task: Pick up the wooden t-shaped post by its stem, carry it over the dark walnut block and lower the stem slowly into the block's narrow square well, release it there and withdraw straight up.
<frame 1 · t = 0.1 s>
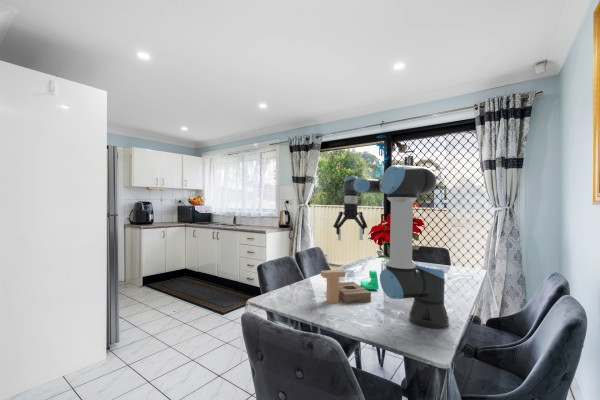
hand: (350, 240, 164), 28 cm above the table, fingers open, 13 cm apart
camera mount: (369, 288, 167), on the table
wooden t-shaped post: (332, 301, 142), on the table
well block: (349, 296, 151), on the table
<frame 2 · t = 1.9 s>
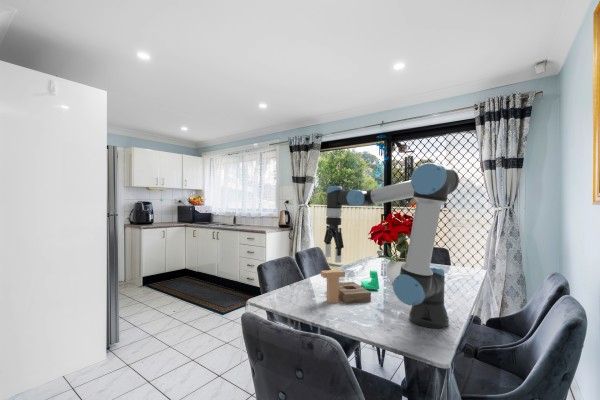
hand: (332, 259, 142), 21 cm above the table, fingers open, 13 cm apart
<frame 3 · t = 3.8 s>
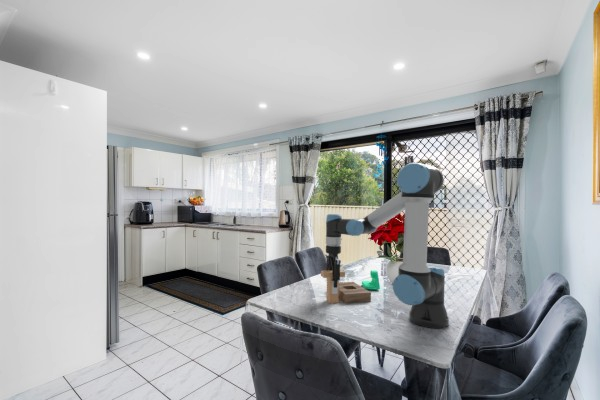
hand: (332, 291, 142), 5 cm above the table, fingers closed on wooden t-shaped post, 4 cm apart
wooden t-shaped post: (332, 301, 142), on the table, touching gripper
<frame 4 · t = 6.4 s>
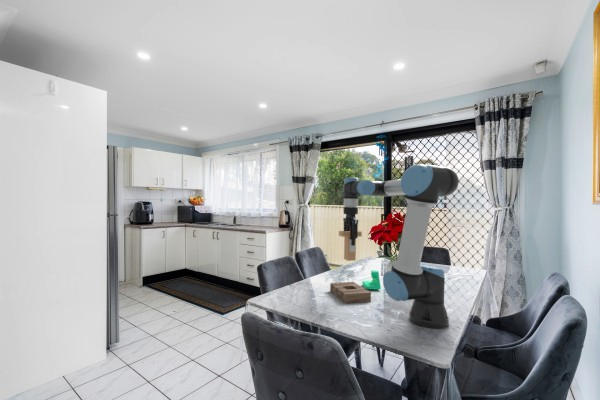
hand: (349, 250, 151), 24 cm above the table, fingers closed on wooden t-shaped post, 4 cm apart
wooden t-shaped post: (349, 259, 151), point 19 cm above the table, touching gripper
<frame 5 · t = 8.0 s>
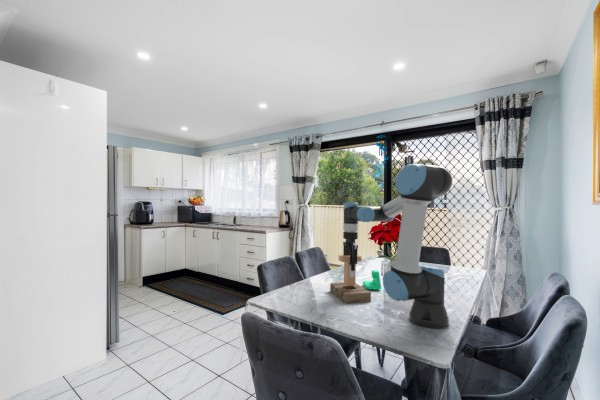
hand: (349, 275, 151), 11 cm above the table, fingers closed on wooden t-shaped post, 4 cm apart
wooden t-shaped post: (349, 284, 151), point 6 cm above the table, touching gripper
when the fingers open (6 cm above the table, at t = 9.2 s): wooden t-shaped post drops 1 cm, resting in well block.
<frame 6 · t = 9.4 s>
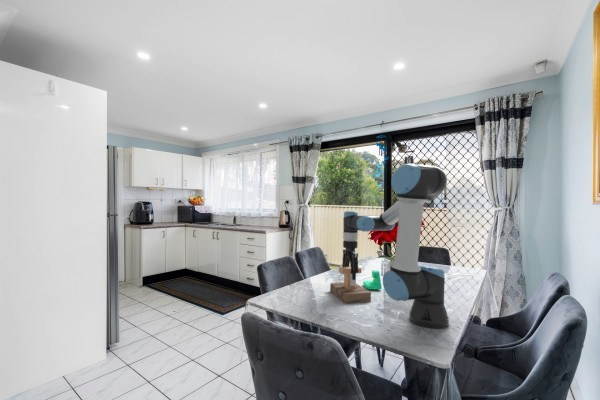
hand: (349, 283, 151), 7 cm above the table, fingers open, 7 cm apart
wooden t-shaped post: (349, 296, 151), resting in well block
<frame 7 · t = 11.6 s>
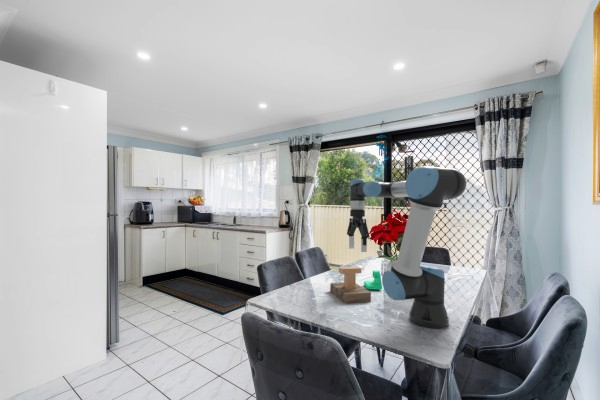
hand: (357, 250, 148), 25 cm above the table, fingers open, 13 cm apart
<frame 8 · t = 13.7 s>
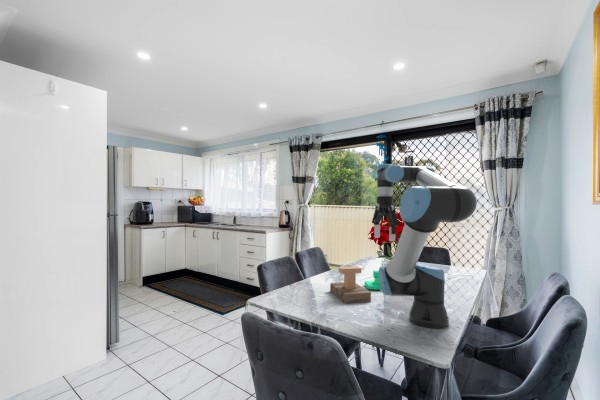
hand: (384, 239, 140), 32 cm above the table, fingers open, 13 cm apart
at the end: wooden t-shaped post 0.1 cm off-centre on the well block, point 0.0 cm above the well block's base; wooden t-shaped post tilted 0°; the gripper is holding nothing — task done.
